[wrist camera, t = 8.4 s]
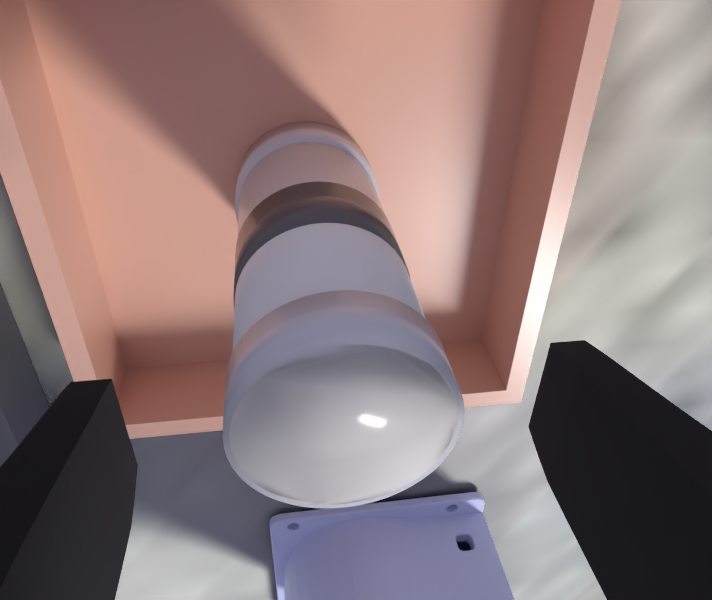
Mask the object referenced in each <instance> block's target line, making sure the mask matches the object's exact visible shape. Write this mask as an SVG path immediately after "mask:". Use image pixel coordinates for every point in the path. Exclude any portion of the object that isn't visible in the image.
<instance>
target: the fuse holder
mask: <svg viewBox="0 0 712 600" xmlns="http://www.w3.org/2000/svg"><path fill="white" fill-rule="evenodd" d="M48 408H49V405H48V402H47V400H46V397H45V395H44V392H43V390H42V387H41V385H40V382H39V380H38V377H37V375H36V372H35V370H34V367H33V365H32V362H31V360H30V357H29V355H28V352H27V350H26V347H25V345H24V342H23V339H22V337H21V334H20V332H19V329H18V327H17V324H16V322H15V319H14V317H13V314H12V312H11V309H10V307H9V304H8V302H7V299H6V297H5V294H4V292H3V289H2V287H1V284H0V466H1V465H2V464H3V463H4V462H5V461H6V459H7V458H8V457H9V456H10V455H11V453H12V452H13V451H14V450H15V449H16V447H17V446H18V445H19V444H20V443H21V441H22V440H23V439H24V438H25V437H26V435H27V434H28V433H29V432H30V430H31V429H32V428H33V427H34V426H35V424H36V423H37V422H38V421H39V419H40V418H41V417H42V416H43V414H44V413H45V412H46V411H47V409H48Z"/></svg>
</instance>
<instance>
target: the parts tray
mask: <svg viewBox="0 0 712 600" xmlns="http://www.w3.org/2000/svg"><path fill="white" fill-rule="evenodd" d="M621 2H622V0H0V173H1V176H2V179H3V181H4V184H5V187H6V190H7V193H8V196H9V199H10V201H11V204H12V207H13V210H14V213H15V216H16V219H17V221H18V224H19V227H20V230H21V233H22V236H23V238H24V241H25V244H26V247H27V250H28V253H29V256H30V258H31V261H32V264H33V267H34V270H35V273H36V275H37V278H38V281H39V284H40V287H41V290H42V293H43V295H44V298H45V301H46V304H47V307H48V310H49V312H50V315H51V318H52V321H53V324H54V327H55V330H56V332H57V335H58V338H59V341H60V344H61V347H62V350H63V352H64V355H65V358H66V361H67V364H68V367H69V369H70V372H71V375H72V378H73V381H74V382H76V381H89V380H101V379H112V381H113V384H114V388H115V391H116V394H117V398H118V401H119V405H120V408H121V411H122V415H123V418H124V421H125V425H126V428H127V432H128V435H129V438H130V439H135V438H146V437H157V436H167V435H178V434H189V433H199V432H210V431H220V430H223V413H224V395H225V378H226V370H227V366H228V362H229V359H230V356H231V354H232V352H233V332H234V299H233V295H234V274H235V252H236V243H237V237H238V222H237V218H236V213H235V193H236V179H237V173H238V169H239V166H240V163H241V161H242V158H243V157H244V155H245V153H246V152H247V150H248V149H249V148H250V146H251V145H252V144H253V143H254V142H255V141H256V140H257V139H258V138H259V137H261V136H262V135H264V134H265V133H266V132H268V131H270V130H272V129H274V128H276V127H278V126H281V125H284V124H288V123H292V122H300V121H311V122H318V123H323V124H327V125H330V126H333V127H335V128H337V129H339V130H341V131H342V132H344V133H346V134H347V135H348V136H350V137H351V138H352V139H353V140H354V141H355V142H356V143H357V144H358V145H359V146H360V148H361V149H362V150H363V152H364V153H365V155H366V157H367V159H368V161H369V164H370V166H371V169H372V171H373V174H374V176H375V179H376V182H377V185H378V188H379V194H380V202H381V205H382V208H383V210H384V213H385V215H386V217H387V219H388V221H389V223H390V225H391V227H392V230H393V232H394V235H395V237H396V240H397V242H398V245H399V247H400V250H401V253H402V255H403V258H404V260H405V263H406V265H407V268H408V271H409V274H410V279H411V282H412V285H413V288H414V290H415V293H416V295H417V298H418V300H419V303H420V306H421V308H422V311H423V313H424V316H425V318H426V320H427V321H428V322H429V323H430V324H431V326H432V327H433V328H434V330H435V331H436V333H437V335H438V337H439V339H440V341H441V343H442V346H443V348H444V351H445V353H446V356H447V358H448V361H449V363H450V366H451V368H452V371H453V373H454V376H455V378H456V381H457V383H458V386H459V388H460V391H461V394H462V397H463V401H464V408H465V407H476V406H486V405H497V404H508V403H518V402H521V400H522V396H523V393H524V389H525V385H526V381H527V377H528V373H529V369H530V365H531V361H532V357H533V353H534V349H535V345H536V341H537V337H538V333H539V329H540V325H541V321H542V317H543V313H544V309H545V305H546V301H547V297H548V293H549V289H550V285H551V281H552V277H553V273H554V269H555V265H556V261H557V257H558V253H559V249H560V245H561V241H562V237H563V233H564V229H565V225H566V221H567V217H568V213H569V209H570V205H571V201H572V197H573V193H574V189H575V185H576V181H577V177H578V173H579V169H580V165H581V161H582V157H583V153H584V149H585V145H586V141H587V137H588V133H589V129H590V125H591V121H592V117H593V113H594V109H595V105H596V101H597V97H598V93H599V89H600V85H601V81H602V77H603V73H604V69H605V65H606V61H607V57H608V53H609V49H610V45H611V41H612V37H613V33H614V29H615V25H616V21H617V17H618V13H619V9H620V5H621Z"/></svg>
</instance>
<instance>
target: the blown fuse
mask: <svg viewBox="0 0 712 600" xmlns="http://www.w3.org/2000/svg"><path fill="white" fill-rule="evenodd" d="M235 213H236V218H237V222H238V237H237V243H236V252H235V274H234V295H233V299H234V332H233V352H232V354H231V356H230V359H229V362H228V366H227V370H226V378H225V395H224V413H223V432H222V436H223V447H224V450H225V454H226V457H227V459H228V461H229V463H230V465H231V467H232V468H233V469H234V471H235V472H236V474H237V475H238V476H239V477H240V478H241V479H242V480H243V481H244V482H245V483H246V484H248V485H249V486H251V487H252V488H253V489H255V490H256V491H258V492H260V493H262V494H263V495H265V496H267V497H270V498H272V499H275V500H277V501H280V502H284V503H287V504H291V505H296V506H301V507H309V508H345V507H352V506H358V505H363V504H367V503H372V502H375V501H378V500H382V499H385V498H388V497H390V496H392V495H395V494H397V493H400V492H402V491H404V490H406V489H407V488H409V487H411V486H413V485H415V484H416V483H418V482H419V481H421V480H422V479H424V478H425V477H426V476H428V475H429V474H430V473H432V472H433V471H434V470H435V469H436V468H437V467H438V466H439V465H440V464H441V463H442V462H443V461H444V460H445V459H446V457H447V456H448V455H449V454H450V452H451V451H452V449H453V448H454V446H455V444H456V443H457V440H458V438H459V436H460V434H461V430H462V426H463V423H464V412H465V411H464V401H463V397H462V394H461V391H460V388H459V386H458V383H457V381H456V378H455V376H454V373H453V371H452V368H451V366H450V363H449V361H448V358H447V356H446V353H445V351H444V348H443V346H442V343H441V341H440V339H439V337H438V335H437V333H436V331H435V330H434V328H433V327H432V326H431V324H430V323H429V322H428V321H427V320H426V318H425V316H424V313H423V311H422V308H421V306H420V303H419V300H418V298H417V295H416V293H415V290H414V288H413V285H412V282H411V279H410V274H409V271H408V268H407V265H406V263H405V260H404V258H403V255H402V253H401V250H400V247H399V245H398V242H397V240H396V237H395V235H394V232H393V230H392V227H391V225H390V223H389V221H388V219H387V217H386V215H385V213H384V210H383V208H382V205H381V202H380V194H379V188H378V185H377V182H376V179H375V176H374V174H373V171H372V169H371V166H370V164H369V161H368V159H367V157H366V155H365V153H364V152H363V150H362V149H361V148H360V146H359V145H358V144H357V143H356V142H355V141H354V140H353V139H352V138H351V137H350V136H348V135H347V134H346V133H344V132H342V131H341V130H339V129H337V128H335V127H333V126H330V125H327V124H323V123H318V122H311V121H300V122H292V123H288V124H284V125H281V126H278V127H276V128H274V129H272V130H270V131H268V132H266V133H265V134H264V135H262V136H261V137H259V138H258V139H257V140H256V141H255V142H254V143H253V144H252V145H251V146H250V148H249V149H248V150H247V152H246V153H245V155H244V157H243V158H242V161H241V163H240V166H239V169H238V173H237V179H236V193H235Z"/></svg>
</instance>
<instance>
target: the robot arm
mask: <svg viewBox="0 0 712 600" xmlns="http://www.w3.org/2000/svg"><path fill="white" fill-rule="evenodd" d="M529 429H530V432H531V435H532V438H533V441H534V444H535V447H536V450H537V453H538V456H539V459H540V462H541V465H542V467H543V470H544V473H545V475H546V478H547V481H548V483H549V485H550V487H551V489H552V491H553V493H554V495H555V497H556V499H557V501H558V503H559V505H560V507H561V509H562V511H563V513H564V515H565V517H566V519H567V521H568V523H569V525H570V527H571V529H572V531H573V533H574V535H575V537H576V539H577V541H578V543H579V545H580V547H581V549H582V551H583V553H584V555H585V557H586V559H587V561H588V563H589V565H590V567H591V569H592V571H593V573H594V575H595V577H596V579H597V581H598V583H599V584H600V586H601V588H602V590H603V592H604V594H605V596H606V598H607V600H712V431H711V430H709V429H708V428H707V427H705V426H704V425H702V424H701V423H699V422H698V421H697V420H695V419H694V418H692V417H691V416H689V415H688V414H687V413H685V412H684V411H682V410H681V409H680V408H678V407H677V406H675V405H674V404H673V403H671V402H670V401H668V400H667V399H666V398H664V397H663V396H662V395H660V394H659V393H657V392H656V391H655V390H653V389H652V388H651V387H649V386H648V385H647V384H645V383H644V382H642V381H641V380H640V379H638V378H637V377H636V376H634V375H633V374H632V373H630V372H629V371H627V370H626V369H625V368H623V367H622V366H621V365H619V364H618V363H616V362H615V361H614V360H612V359H611V358H610V357H608V356H607V355H605V354H604V353H603V352H601V351H600V350H598V349H597V348H595V347H594V346H592V345H591V344H589V343H588V342H586V341H585V340H582V341H570V342H558V343H551V344H550V348H549V352H548V355H547V359H546V363H545V367H544V370H543V374H542V378H541V382H540V386H539V389H538V393H537V397H536V401H535V404H534V408H533V412H532V416H531V419H530V423H529ZM137 466H138V465H137V462H136V459H135V455H134V452H133V448H132V445H131V442H130V438H129V435H128V432H127V428H126V425H125V421H124V418H123V415H122V411H121V408H120V405H119V401H118V398H117V394H116V391H115V388H114V384H113V381H112V379H101V380H89V381H76V382H70V383H69V385H68V386H67V387H66V388H65V389H64V390H63V391H62V392H61V394H60V395H59V396H58V397H57V398H56V400H55V401H54V402H53V403H52V405H51V406H50V407H49V408H48V409H47V411H46V412H45V413H44V414H43V416H42V417H41V418H40V419H39V421H38V422H37V423H36V424H35V426H34V427H33V428H32V429H31V430H30V432H29V433H28V434H27V435H26V437H25V438H24V439H23V440H22V441H21V443H20V444H19V445H18V446H17V447H16V449H15V450H14V451H13V452H12V453H11V455H10V456H9V457H8V458H7V459H6V461H5V462H4V463H3V464H2V465H1V466H0V600H115V596H116V591H117V587H118V583H119V579H120V574H121V570H122V565H123V561H124V556H125V552H126V548H127V543H128V539H129V534H130V529H131V523H132V515H133V506H134V497H135V487H136V476H137ZM484 504H485V503H484V499H483V496H482V495H481V494H480V493H478V492H468V493H459V494H451V495H442V496H433V497H424V498H415V499H406V500H397V501H388V502H380V503H371V504H363V505H358V506H352V507H345V508H326V509H317V510H309V511H300V512H291V513H282V514H277V515H275V516H273V517H272V518H271V519H270V536H271V545H272V553H273V562H274V571H275V580H276V589H277V598H278V600H514V598H513V595H512V592H511V589H510V587H509V584H508V581H507V578H506V576H505V573H504V570H503V567H502V565H501V562H500V559H499V556H498V553H497V551H496V548H495V545H494V542H493V540H492V537H491V534H490V531H489V529H488V526H487V523H486V520H485V518H484V515H483V513H482V512H483V508H484Z"/></svg>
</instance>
